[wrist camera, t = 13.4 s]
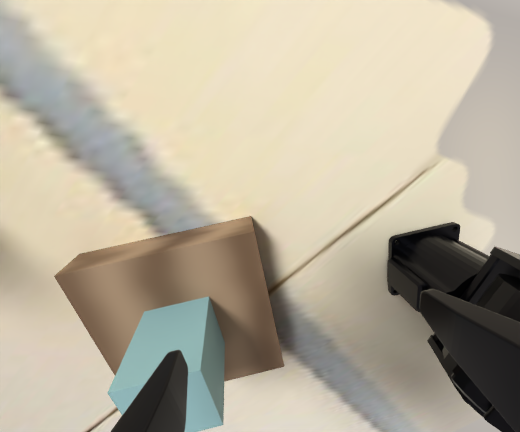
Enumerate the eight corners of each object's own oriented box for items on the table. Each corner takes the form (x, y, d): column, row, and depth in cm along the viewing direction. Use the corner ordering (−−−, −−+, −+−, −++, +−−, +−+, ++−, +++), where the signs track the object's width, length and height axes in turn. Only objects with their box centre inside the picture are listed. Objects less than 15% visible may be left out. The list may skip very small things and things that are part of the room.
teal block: (209, 296, 19) (200, 369, 13) (224, 342, 21) (223, 424, 15) (144, 311, 18) (107, 393, 13) (166, 357, 20) (142, 445, 15)
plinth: (251, 216, 20) (254, 231, 17) (278, 339, 25) (284, 366, 22) (79, 254, 19) (54, 276, 17) (143, 372, 25) (132, 404, 22)
